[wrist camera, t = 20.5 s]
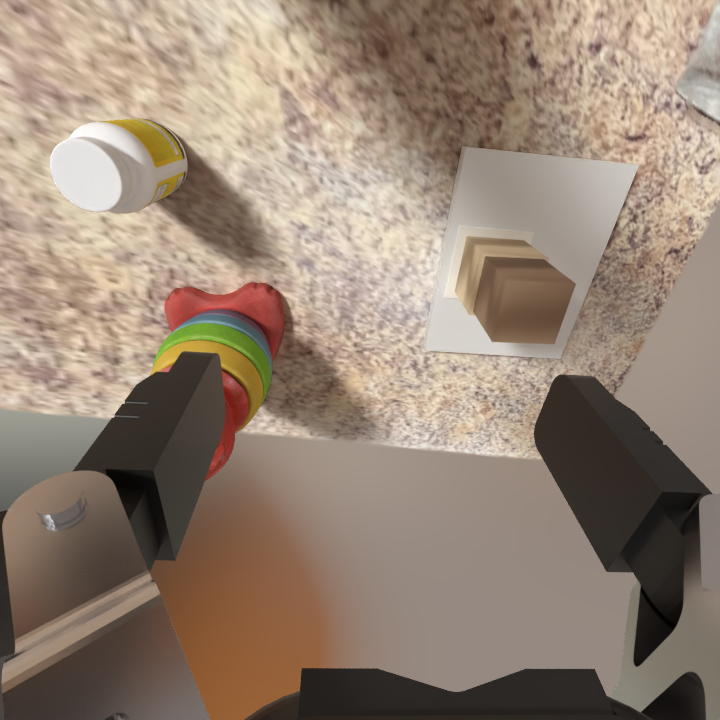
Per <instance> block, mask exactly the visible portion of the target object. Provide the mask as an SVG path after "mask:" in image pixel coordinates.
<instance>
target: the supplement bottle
mask: <svg viewBox="0 0 720 720" xmlns="http://www.w3.org/2000/svg"><path fill="white" fill-rule="evenodd" d="M50 170H51V174H52V177H53V180H54V182H55V184H56V186H57V187H58V189H59V190H60V192H61V193H62V194H63V195H64V196H65V197H66V198H67V199H68V200H69V201H70V202H72V203H73V204H74V205H76V206H78V207H80V208H82V209H84V210H87V211H91V212H105V211H109V212H113V213H132V212H135V211H138V210H140V209H143V208H144V207H146V206H148V205H150V204H152V203H154V202H156V201H158V200H160V199H162V198H164V197H166V196H168V195H170V194H172V193H173V192H175V191H176V190H178V189H179V188H180V187H181V186H182V184H183V183H184V181H185V179H186V176H187V170H188V163H187V157H186V153H185V150H184V148H183V146H182V144H181V142H180V141H179V139H178V138H177V137H176V136H175V134H174V133H173V132H172V131H171V130H169V129H168V128H167V127H165V126H164V125H162V124H160V123H158V122H156V121H153V120H149V119H125V120H114V121H101V122H92V123H88V124H85V125H83V126H81V127H79V128H77V129H76V130H75V131H74V132H73V133H72V134H71V136H70V137H69V139H67V140H64V141H62V142H60V143H59V144H58V145H57V146H56V147H55V148H54V150H53V152H52V154H51V158H50Z"/></svg>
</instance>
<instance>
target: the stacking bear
mask: <svg viewBox="0 0 720 720" xmlns="http://www.w3.org/2000/svg"><path fill="white" fill-rule="evenodd" d="M165 313H166V317H167V321H168V324H169V327H170V329H171V331H172V333H171V334H170V335H169V336H168V337H167V338H166V340H165V341H164V342H163V344H162V345H161V347H160V349H159V351H158V353H157V355H156V358H155V361H154V364H153V369H152V373H151V375H152V374H154V373H155V372H169V370H170V369H171V367H172V366H173V364H174V363H175V361H176V360H177V358H178V357H179V355H180V354H181V352H183V351H191V352H208V353H218V354H219V356H220V360H221V368H222V378H223V388H224V398H225V423H224V429H223V433H222V436H221V438H220V441H219V444H218V446H217V449H216V452H215V454H214V457H213V460H212V463H211V465H210V468H209V471H208V473H207V476H206V479H205V481H206V480H207V479H209V478H211V477H212V476H213V475H215V474H216V473H217V472H218V471H219V470H220V469H221V468H222V467H223V466H224V465H225V463H226V462H227V461H228V459H229V457H230V455H231V453H232V450H233V446H234V441H235V433H237V432H238V431H240V430H241V429H243V428H244V427H245V426H246V425H247V424H248V423H249V422H250V421H251V419H252V418H253V417H254V415H255V414H256V412H257V410H258V409H259V407H260V406H261V405H262V403H263V401H264V399H265V397H266V395H267V393H268V390H269V387H270V383H271V379H272V361H273V359H274V357H275V356H276V354H277V352H278V349H279V347H280V345H281V341H282V338H283V333H284V310H283V305H282V301H281V298H280V295H279V293H278V292H277V291H276V290H274V289H272V288H271V287H270V286H269V285H268V284H266V283H259V284H258V283H255V282H251V283H247V284H246V285H244V286H243V287H241V288H240V289H239V290H237V291H235V292H233V293H230V294H226V295H213V294H208V293H205V292H203V291H200V290H198V289H196V288H192V287H184V288H183V289H180V288H176V289H174V290H173V291H172V292H171V294H170V296H169V297H168V298H167V299H166V301H165Z"/></svg>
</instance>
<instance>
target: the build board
mask: <svg viewBox="0 0 720 720" xmlns="http://www.w3.org/2000/svg"><path fill="white" fill-rule="evenodd" d="M638 166H639V165H636V164H631V163H623V162H613V161H603V160H593V159H584V158H574V157H564V156H554V155H544V154H535V153H525V152H515V151H505V150H496V149H486V148H476V147H466V146H462V149H461V154H460V159H459V164H458V169H457V174H456V179H455V184H454V189H453V194H452V200H451V205H450V210H449V215H448V220H447V225H446V230H445V235H444V240H443V245H442V250H441V255H440V260H439V266H438V271H437V276H436V281H435V286H434V291H433V296H432V301H431V306H430V311H429V316H428V321H427V326H426V332H425V337H424V342H423V346H424V349H425V351H440V352H456V353H472V354H488V355H504V356H520V357H536V358H552V359H561V356H562V354H563V351H564V349H565V346H566V344H567V341H568V339H569V336H570V334H571V331H572V329H573V327H574V324H575V322H576V319H577V317H578V314H579V312H580V309H581V307H582V304H583V302H584V299H585V297H586V295H587V292H588V290H589V287H590V285H591V282H592V280H593V277H594V275H595V272H596V270H597V267H598V265H599V262H600V260H601V258H602V255H603V253H604V250H605V248H606V245H607V243H608V240H609V238H610V235H611V233H612V230H613V228H614V226H615V223H616V221H617V218H618V216H619V213H620V211H621V208H622V206H623V203H624V201H625V198H626V196H627V194H628V191H629V189H630V186H631V184H632V181H633V179H634V176H635V174H636V171H637V169H638ZM467 236H475V237H488V238H500V239H513V240H524V241H526V242H527V243H528V244H530V245H531V246H532V247H534V248H535V249H536V250H538V251H539V252H540V253H542V254H543V255H544V256H546V257H547V258H548V259H549V260H548V263H550V264H551V265H552V266H554V267H555V268H556V269H557V270H559V271H560V272H561V273H563V274H564V275H565V276H567V277H568V278H569V279H570V280H572V281H573V282H574V283H576V285H575V288H574V291H573V294H572V297H571V299H570V302H569V305H568V308H567V311H566V314H565V316H564V319H563V322H562V325H561V328H560V330H559V333H558V336H557V339H556V342H555V344H532V343H506V342H492V341H491V340H490V338H489V336H488V335H487V333H486V332H485V330H484V328H483V327H482V325H481V324H480V322H479V320H478V319H477V317H476V316H475V315H469V314H468V313H467V311H466V309H465V308H464V306H463V304H462V303H461V301H460V299H459V298H458V296H457V294H456V293H455V287H456V283H457V278H458V274H459V269H460V265H461V260H462V256H463V251H464V247H465V242H466V238H467Z"/></svg>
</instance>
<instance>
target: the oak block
mask: <svg viewBox="0 0 720 720" xmlns="http://www.w3.org/2000/svg"><path fill="white" fill-rule="evenodd" d="M485 256H490V257H510V258H530V259H544V260H546V261H547V262H548V260H549V259H548V258H547V257H546V256H544V255H543V254H542V253H540V252H539V251H538V250H536V249H535V248H534V247H532V246H531V245H530V244H528V243H527V242H526V241H524V240H513V239H500V238H488V237H475V236H467V238H466V242H465V247H464V251H463V256H462V260H461V265H460V269H459V274H458V278H457V283H456V287H455V293H456V294H457V296H458V298H459V299H460V301H461V303H462V304H463V306H464V308H465V309H466V311H467V313H468V314H469V315H475V314H474V312H473V309H474V304H475V300H476V295H477V291H478V286H479V282H480V277H481V273H482V269H483V264H484V260H485Z"/></svg>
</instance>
